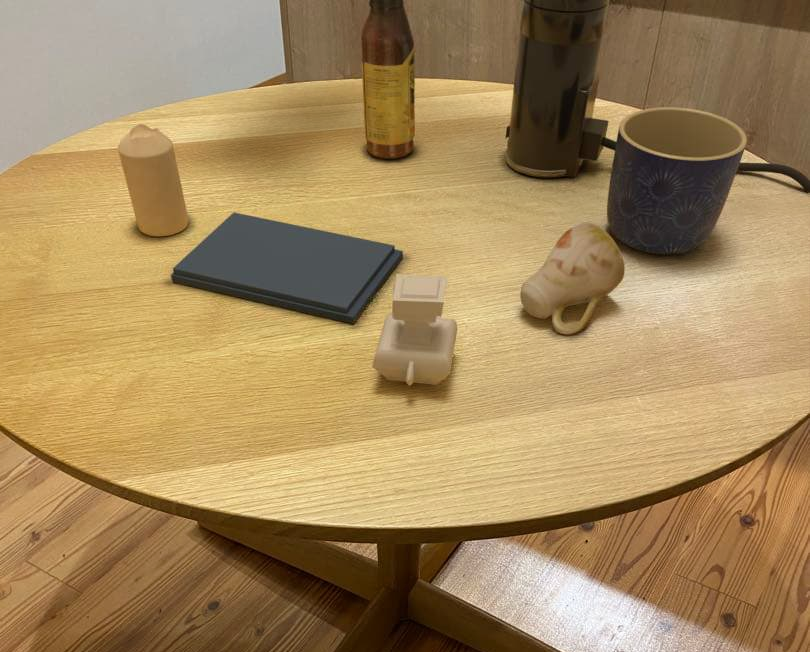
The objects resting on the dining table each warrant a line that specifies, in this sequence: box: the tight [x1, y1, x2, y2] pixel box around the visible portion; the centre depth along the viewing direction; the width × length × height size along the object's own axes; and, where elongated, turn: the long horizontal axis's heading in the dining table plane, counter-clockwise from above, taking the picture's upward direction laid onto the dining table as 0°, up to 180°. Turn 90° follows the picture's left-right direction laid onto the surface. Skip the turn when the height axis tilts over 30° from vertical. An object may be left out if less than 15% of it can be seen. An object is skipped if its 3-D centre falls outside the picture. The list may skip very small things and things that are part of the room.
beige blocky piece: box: [372, 273, 458, 386], centre depth 68 cm, size 9×7×8 cm
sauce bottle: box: [360, 0, 416, 160], centre depth 93 cm, size 6×6×20 cm
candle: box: [117, 123, 189, 237], centre depth 84 cm, size 6×6×10 cm
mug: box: [519, 221, 626, 335], centre depth 76 cm, size 8×10×10 cm
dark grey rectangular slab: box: [170, 212, 404, 325], centre depth 81 cm, size 20×13×1 cm, turn 69°
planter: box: [606, 106, 748, 255], centre depth 82 cm, size 12×12×11 cm
